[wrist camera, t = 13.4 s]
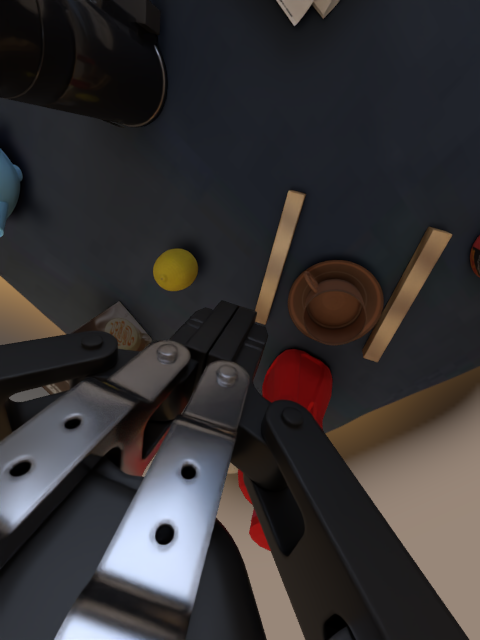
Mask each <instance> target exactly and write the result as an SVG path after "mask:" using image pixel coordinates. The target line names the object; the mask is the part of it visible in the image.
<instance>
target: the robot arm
mask: <svg viewBox="0 0 480 640" xmlns="http://www.w3.org/2000/svg"><path fill="white" fill-rule="evenodd" d="M160 14H161V12H160V10H158V9H157V8H156V7H155V6H154V5H153V4H152V3H151V2H150V1H149V0H0V98H5V99H9V100H14V101H19V102H23V103H28V104H33V105H37V106H42V107H47V108H51V109H56V110H61V111H65V112H70V113H74V114H79V115H84V116H88V117H93V118H98V119H101V120H103V121H106V122H108V123H111V124H113V125H115V126H118V127H122V126H120V125H117V124H115V123H112V122H116V123H119V124H123V125H126V126H131V127H143V126H146V125H148V124H150V123H151V122H152V121H154V120H155V119H156V117H157V116H158V115H159V113H160V112H161V110H162V108H163V105H164V103H165V99H166V94H167V73H166V68H165V64H164V61H163V58H162V55H161V53H160V51H159V49H158V47H157V35H159V32H160ZM110 121H112V122H110ZM123 128H124V127H123ZM256 316H257V312H256V311H253V310H250V309H247V308H244V307H241V306H240V307H239V306H238V305H235V304H232V303H229V302H226V301H223V300H222V301H221V302H220V303H219V304H218V305H217V306H216V308H215V309H214V310H212V309H209V308H203V309H201V310H198V311H196V312H195V313H194V314H193V315H192V316H191V317H190V319H188V320H187V321H186V322H185V324H183V325H182V326H181V327H180V329H179V330H178V331H177V332H176V333H175V334H174V335H173V336H172V337H171V338H170V339H169V340H162V341H157V342H153V343H151V344H150V345H148V346H147V347H146V348H145V349H143V350H142V351H133V350H124V349H118V341H117V339H116V338H115V337H114V336H113V335H111V334H110V333H107V332H103V331H85V332H79V333H73V334H67V335H61V336H55V337H48V338H42V339H36V340H30V341H24V342H18V343H12V344H5V345H0V640H267V639H266V635H265V632H264V629H263V625H262V622H261V618H260V615H259V611H258V608H257V605H256V601H255V598H254V594H253V591H252V587H251V584H250V580H249V577H248V574H247V570H246V568H245V564H244V562H243V559H242V557H241V554H240V552H239V550H238V547H237V546H236V544H235V542H234V540H233V538H232V537H231V535H230V534H229V532H228V531H227V530H226V528H225V527H224V526H223V525H222V523H221V522H220V521H219V520H218V519H217V518H216V515H217V511H218V507H219V503H220V499H221V495H222V492H223V488H224V483H225V480H226V476H227V472H228V468H229V464H230V462H231V463H232V464H233V465H234V466H236V467H237V468H238V469H239V470H240V471H242V472H243V480H244V484H245V486H246V489H247V491H248V494H249V497H250V499H251V502H252V504H253V507H254V509H255V512H256V514H257V517H258V520H259V522H260V525H261V527H262V530H263V532H264V535H265V537H266V540H267V543H268V545H269V548H270V550H271V553H272V555H273V558H274V561H275V563H276V566H277V568H278V571H279V573H280V576H281V578H282V581H283V583H284V586H285V588H286V591H287V594H288V596H289V598H290V601H291V604H292V607H293V609H294V612H295V614H296V617H297V619H298V622H299V624H300V627H301V629H302V632H303V635H304V637H305V640H469V639H468V637H467V636H466V634H465V633H464V631H463V630H462V628H461V627H460V626H459V624H458V623H457V621H456V620H455V618H454V617H453V616H452V614H451V613H450V611H449V610H448V608H447V607H446V606H445V604H444V603H443V601H442V600H441V598H440V597H439V596H438V595H437V593H436V591H435V590H434V588H433V587H432V586H431V584H430V583H429V582H428V580H427V579H426V577H425V576H424V574H423V573H422V571H421V570H420V569H419V567H418V566H417V564H416V563H415V562H414V560H413V558H412V557H411V556H410V554H409V553H408V552H407V550H406V548H405V547H404V546H403V544H402V543H401V541H400V540H399V539H398V537H397V536H396V534H395V533H394V531H393V530H392V529H391V527H390V526H389V524H388V523H387V521H386V520H385V518H384V517H383V516H382V514H381V513H380V511H379V510H378V508H377V507H376V506H375V505H374V503H373V501H372V500H371V498H370V497H369V496H368V494H367V493H366V491H365V490H364V488H363V487H362V486H361V484H360V483H359V482H358V480H357V479H356V477H355V476H354V474H353V473H352V471H351V470H350V468H349V467H348V466H347V464H346V463H345V461H344V460H343V458H342V457H341V456H340V454H339V453H338V451H337V450H336V448H335V447H334V446H333V444H332V443H331V441H330V440H329V439H328V437H327V436H326V434H325V433H324V431H323V430H322V428H321V427H320V426H319V424H318V423H317V421H316V420H315V419H314V417H313V416H312V414H311V413H310V412H309V411H308V410H307V409H306V408H305V407H303V406H302V405H300V404H298V403H296V402H294V401H290V400H277V401H274V402H272V403H271V402H270V401H268V400H267V399H265V398H264V397H263V396H261V395H260V394H259V392H258V391H257V390H256V388H255V387H254V384H253V379H254V377H255V374H256V371H257V369H258V366H259V363H260V360H261V357H262V354H263V350H264V347H265V344H266V341H267V338H268V334H267V330H266V327H263V326H260V325H257V324H254V323H255V320H256ZM67 380H69V385H70V390H67V391H63V392H59V393H55V394H52V395H48V396H44V397H40V398H36V399H33V400H29V401H25V402H14V401H12V400H10V399H9V397H10V396H11V395H13V394H15V393H18V392H21V391H25V390H30V389H33V388H38V387H42V386H46V385H50V384H54V383H59V382H63V381H67ZM186 405H187V406H186ZM185 407H186V408H185ZM184 408H185V410H184ZM183 410H184V412H183V414H182V415H181V413H182V411H183ZM155 454H156V455H155ZM154 456H155V457H154ZM153 457H154V459H153ZM152 459H153V461H152V463H151V465H150V467H149V469H148V471H147V473H146V475H145V477H142V475H143V473H144V470H145V469H146V467H147V466H148V464H149V463H150V461H151V460H152Z"/></svg>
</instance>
